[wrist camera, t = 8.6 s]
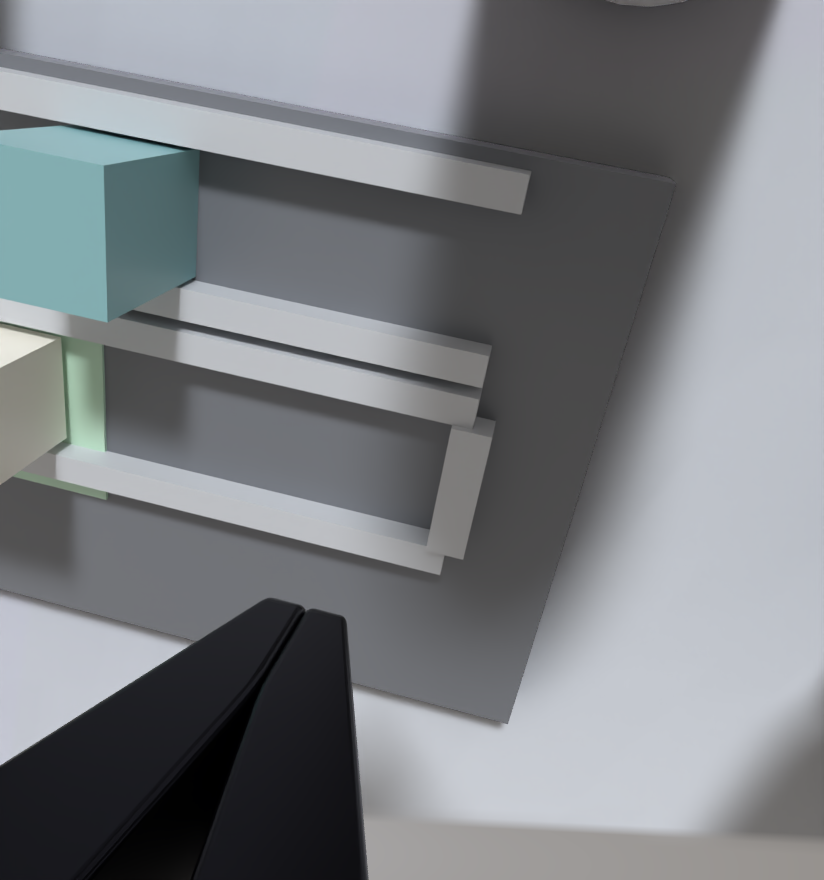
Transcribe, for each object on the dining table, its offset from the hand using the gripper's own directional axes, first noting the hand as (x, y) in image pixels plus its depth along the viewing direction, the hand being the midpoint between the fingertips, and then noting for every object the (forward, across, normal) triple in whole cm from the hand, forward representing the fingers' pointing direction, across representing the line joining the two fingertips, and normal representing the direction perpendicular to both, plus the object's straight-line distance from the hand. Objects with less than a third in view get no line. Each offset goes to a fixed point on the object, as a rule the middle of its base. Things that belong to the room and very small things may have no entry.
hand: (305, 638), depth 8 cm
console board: (+12, +6, +4) cm, 14 cm away
